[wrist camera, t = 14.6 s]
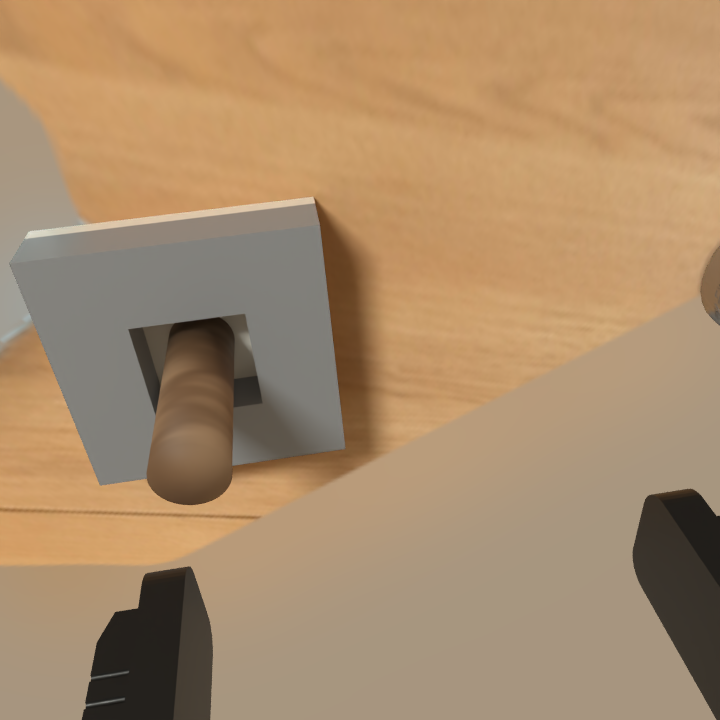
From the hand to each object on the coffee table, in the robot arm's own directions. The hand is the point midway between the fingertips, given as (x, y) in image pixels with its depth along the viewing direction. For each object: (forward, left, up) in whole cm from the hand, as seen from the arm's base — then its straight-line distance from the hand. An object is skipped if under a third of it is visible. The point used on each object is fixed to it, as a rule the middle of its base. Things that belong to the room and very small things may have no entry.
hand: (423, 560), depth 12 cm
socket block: (+8, +13, -30) cm, 34 cm away
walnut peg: (+8, +13, -29) cm, 33 cm away
